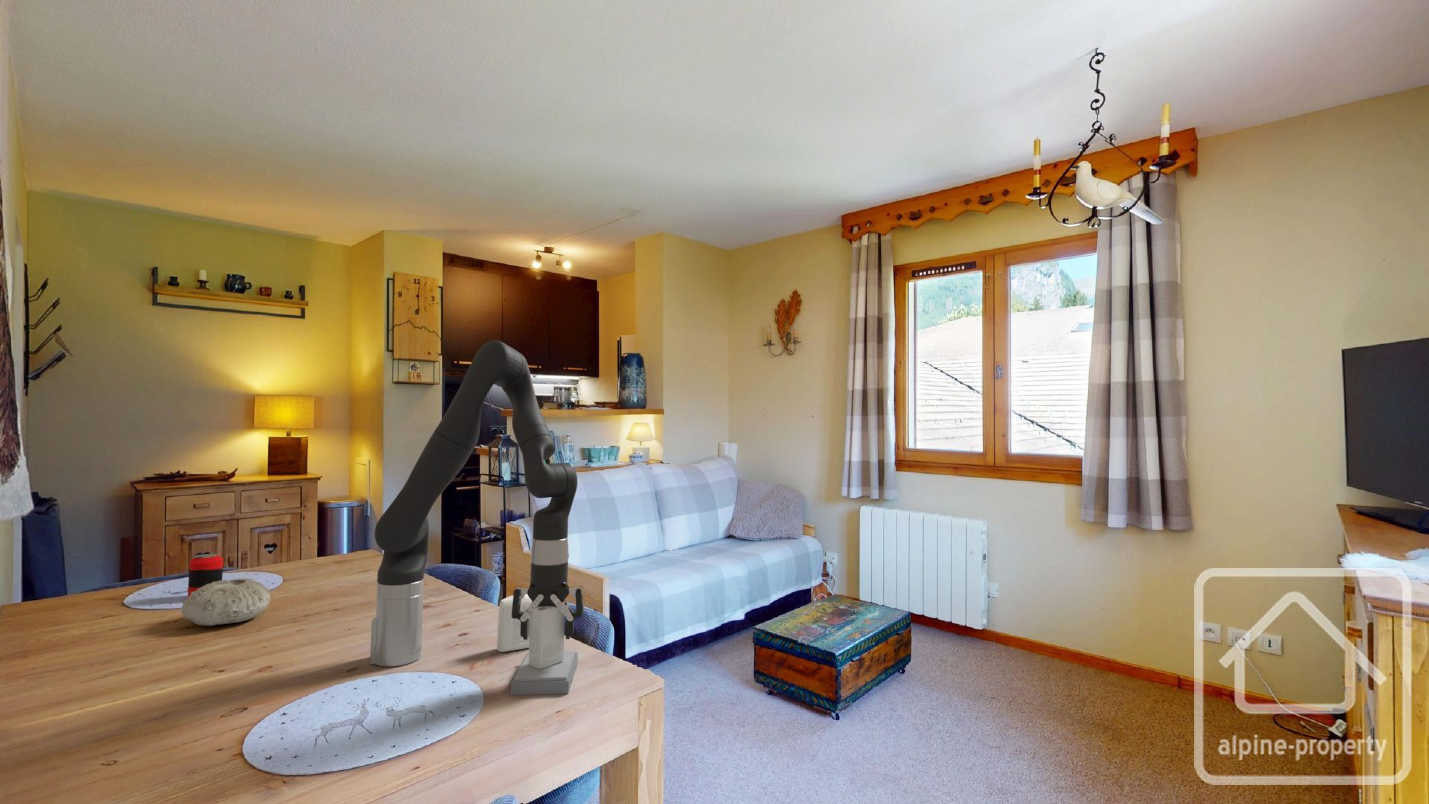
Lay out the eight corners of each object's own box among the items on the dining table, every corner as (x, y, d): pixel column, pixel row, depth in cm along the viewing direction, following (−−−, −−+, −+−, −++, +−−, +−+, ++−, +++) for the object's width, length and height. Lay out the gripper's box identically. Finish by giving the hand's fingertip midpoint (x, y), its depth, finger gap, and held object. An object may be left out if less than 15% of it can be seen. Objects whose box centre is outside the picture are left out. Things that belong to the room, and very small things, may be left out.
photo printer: (538, 640, 148) (540, 589, 148) (544, 646, 144) (546, 593, 145) (494, 648, 142) (496, 594, 143) (499, 654, 139) (501, 599, 139)
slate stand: (510, 695, 118) (511, 679, 118) (526, 664, 133) (526, 650, 133) (568, 693, 119) (568, 678, 120) (577, 663, 134) (577, 649, 134)
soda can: (180, 600, 174) (182, 557, 174) (206, 593, 181) (208, 552, 182) (202, 602, 173) (204, 559, 173) (228, 594, 180) (230, 553, 180)
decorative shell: (267, 625, 155) (269, 585, 155) (175, 638, 145) (177, 595, 145) (270, 607, 169) (272, 570, 170) (186, 617, 159) (188, 578, 160)
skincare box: (551, 656, 130) (553, 599, 131) (564, 662, 127) (566, 603, 128) (526, 665, 126) (528, 605, 126) (539, 670, 123) (541, 609, 123)
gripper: (510, 563, 123) (507, 645, 122) (582, 563, 124) (580, 644, 124) (518, 555, 130) (515, 632, 130) (586, 555, 132) (584, 631, 131)
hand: (547, 638), depth 127 cm, fingers open, 8 cm apart
